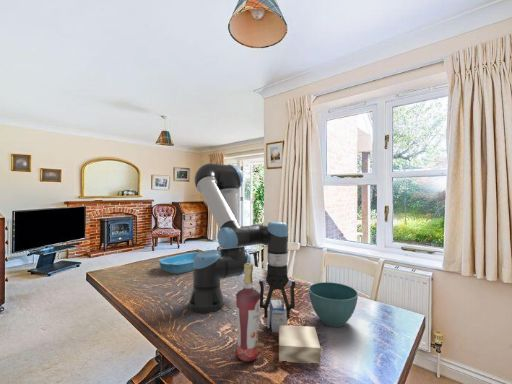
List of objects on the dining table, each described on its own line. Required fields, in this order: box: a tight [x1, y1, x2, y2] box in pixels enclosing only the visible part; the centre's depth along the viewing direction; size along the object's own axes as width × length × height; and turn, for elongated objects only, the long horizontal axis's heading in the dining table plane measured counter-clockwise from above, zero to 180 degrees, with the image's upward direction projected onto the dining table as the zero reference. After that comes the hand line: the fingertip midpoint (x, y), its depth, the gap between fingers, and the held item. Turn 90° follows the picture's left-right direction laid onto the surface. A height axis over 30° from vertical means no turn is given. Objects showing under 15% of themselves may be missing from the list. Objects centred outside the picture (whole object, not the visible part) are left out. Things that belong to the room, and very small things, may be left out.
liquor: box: [235, 262, 261, 363], centre depth 77 cm, size 7×7×28 cm
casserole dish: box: [158, 252, 199, 275], centre depth 171 cm, size 37×22×7 cm, turn 146°
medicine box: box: [269, 299, 285, 333], centre depth 95 cm, size 8×4×9 cm, turn 5°
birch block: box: [278, 324, 321, 365], centre depth 81 cm, size 12×12×5 cm
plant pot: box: [308, 281, 359, 328], centre depth 100 cm, size 18×18×12 cm
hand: (276, 326), depth 95 cm, fingers open, 6 cm apart
